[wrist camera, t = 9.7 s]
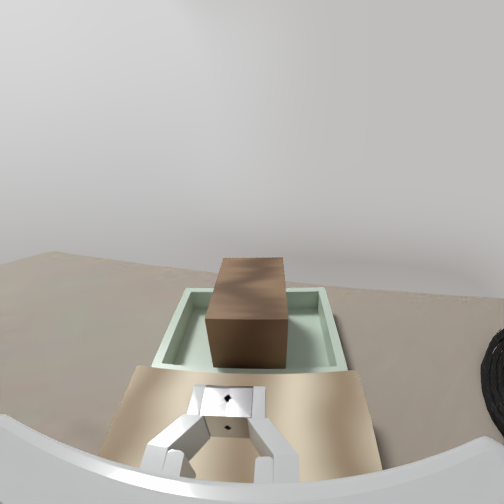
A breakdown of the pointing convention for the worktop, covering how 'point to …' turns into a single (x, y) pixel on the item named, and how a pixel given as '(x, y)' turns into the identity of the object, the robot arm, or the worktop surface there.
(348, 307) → the worktop surface
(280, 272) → the walnut block
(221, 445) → the birch stand
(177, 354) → the tray
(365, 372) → the worktop surface
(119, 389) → the worktop surface
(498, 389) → the hairbrush
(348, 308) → the worktop surface
